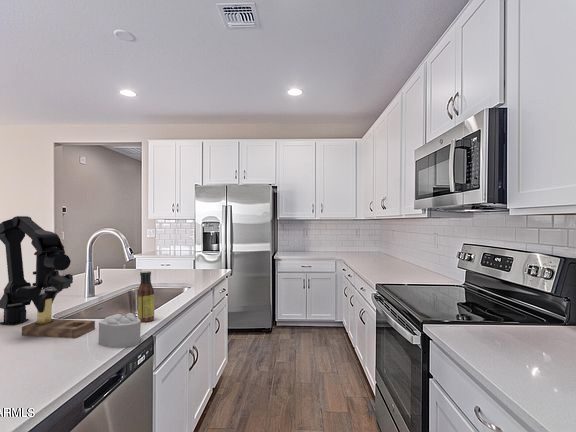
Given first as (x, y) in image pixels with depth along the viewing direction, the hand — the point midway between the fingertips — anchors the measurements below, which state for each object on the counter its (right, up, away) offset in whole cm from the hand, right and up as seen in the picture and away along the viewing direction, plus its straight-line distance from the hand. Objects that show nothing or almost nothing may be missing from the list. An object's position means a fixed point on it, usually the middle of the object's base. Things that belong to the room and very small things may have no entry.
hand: (44, 311), depth 123 cm
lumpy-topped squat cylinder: (+32, -8, -9) cm, 34 cm away
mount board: (+6, -7, -1) cm, 9 cm away
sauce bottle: (+30, -8, +16) cm, 35 cm away
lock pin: (0, -6, 0) cm, 6 cm away
